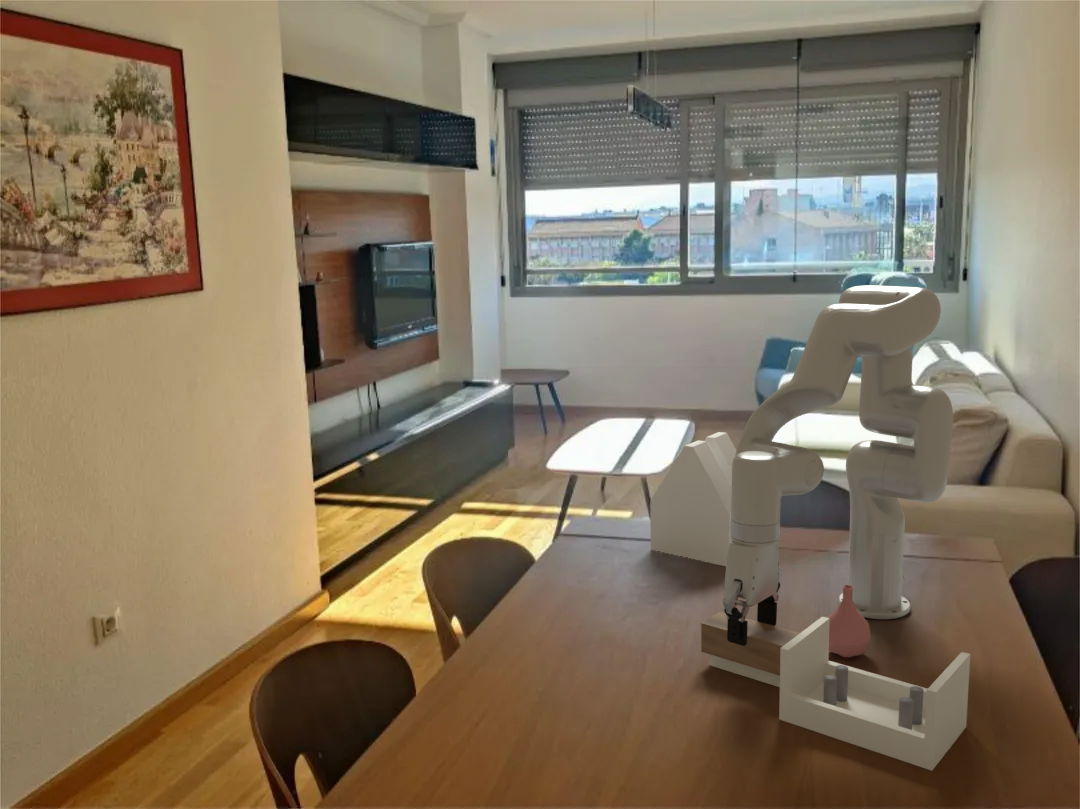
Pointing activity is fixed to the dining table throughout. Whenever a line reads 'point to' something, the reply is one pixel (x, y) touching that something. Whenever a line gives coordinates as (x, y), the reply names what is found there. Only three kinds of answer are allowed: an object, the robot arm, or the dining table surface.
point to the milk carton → (696, 502)
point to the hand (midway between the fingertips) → (752, 633)
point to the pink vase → (848, 628)
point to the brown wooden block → (758, 649)
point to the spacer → (745, 670)
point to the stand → (871, 702)
